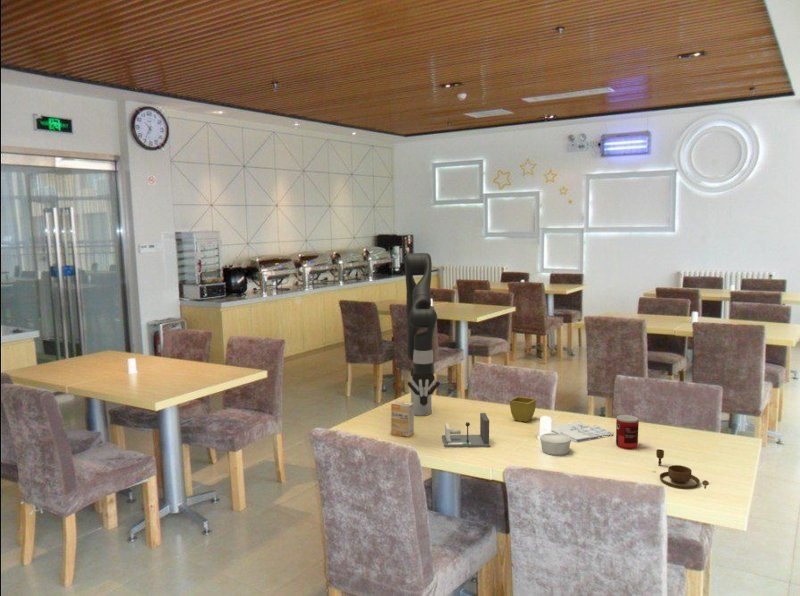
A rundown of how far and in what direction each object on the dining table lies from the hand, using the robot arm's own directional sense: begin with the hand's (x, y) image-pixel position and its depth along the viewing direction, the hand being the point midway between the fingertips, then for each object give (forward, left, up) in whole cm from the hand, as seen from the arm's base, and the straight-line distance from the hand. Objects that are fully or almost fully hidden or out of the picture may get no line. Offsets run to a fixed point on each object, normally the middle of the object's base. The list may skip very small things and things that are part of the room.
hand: (423, 405), depth 248 cm
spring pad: (0, +11, -13) cm, 17 cm away
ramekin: (+12, +48, -15) cm, 52 cm away
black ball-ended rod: (+5, +16, -13) cm, 22 cm away
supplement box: (-10, -8, -15) cm, 20 cm away
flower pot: (-27, +44, -15) cm, 54 cm away
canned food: (+8, +76, -15) cm, 78 cm away
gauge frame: (0, +16, -15) cm, 22 cm away
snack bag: (-10, +63, -16) cm, 66 cm away
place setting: (+38, +82, -16) cm, 92 cm away
